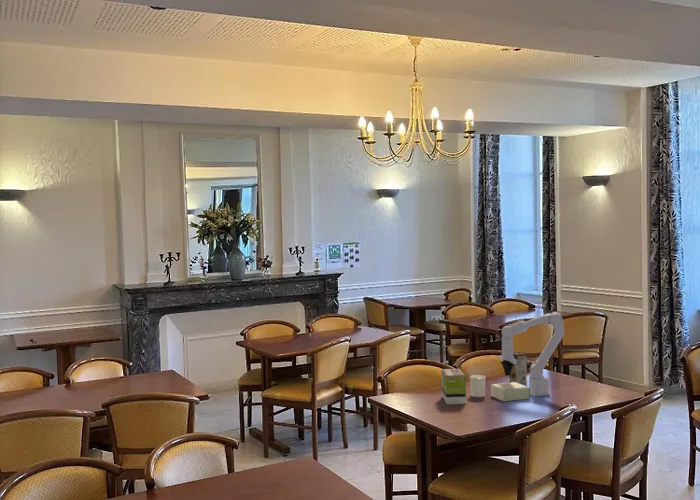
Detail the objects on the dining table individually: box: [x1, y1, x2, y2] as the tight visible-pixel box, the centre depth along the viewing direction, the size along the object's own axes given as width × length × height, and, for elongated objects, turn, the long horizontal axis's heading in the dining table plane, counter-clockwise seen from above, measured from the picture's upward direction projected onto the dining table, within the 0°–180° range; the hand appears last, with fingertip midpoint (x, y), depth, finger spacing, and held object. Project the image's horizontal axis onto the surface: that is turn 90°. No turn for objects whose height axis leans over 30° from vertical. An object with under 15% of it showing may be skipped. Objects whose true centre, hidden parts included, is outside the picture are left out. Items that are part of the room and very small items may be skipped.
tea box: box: [441, 368, 467, 405], centre depth 343 cm, size 15×10×15 cm, turn 1°
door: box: [502, 386, 531, 402], centre depth 341 cm, size 15×2×6 cm, turn 108°
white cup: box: [469, 374, 487, 398], centre depth 352 cm, size 8×8×10 cm
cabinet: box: [490, 381, 528, 402], centre depth 347 cm, size 14×12×6 cm
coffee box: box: [509, 351, 528, 385], centre depth 381 cm, size 9×6×16 cm
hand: (507, 375), depth 356 cm, fingers closed
